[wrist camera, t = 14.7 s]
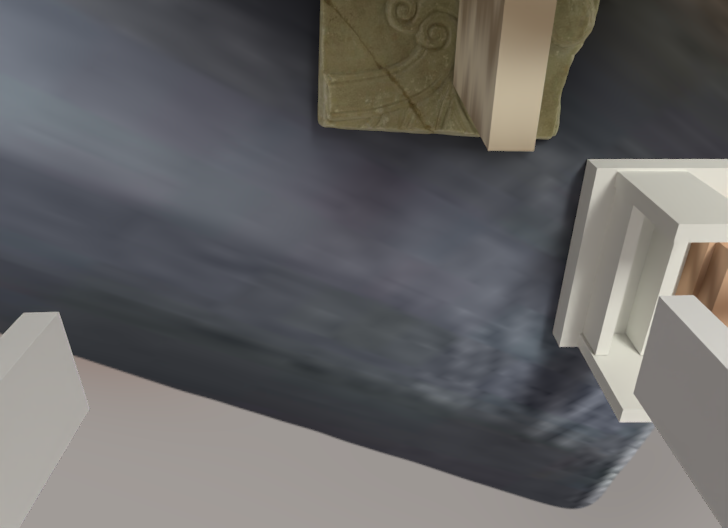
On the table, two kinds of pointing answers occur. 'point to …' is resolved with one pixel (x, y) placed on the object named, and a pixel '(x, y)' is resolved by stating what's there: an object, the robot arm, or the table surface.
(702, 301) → the offcut upper
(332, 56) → the decorative tile
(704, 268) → the offcut lower
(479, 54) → the birch board
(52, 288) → the table surface
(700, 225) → the board rack
